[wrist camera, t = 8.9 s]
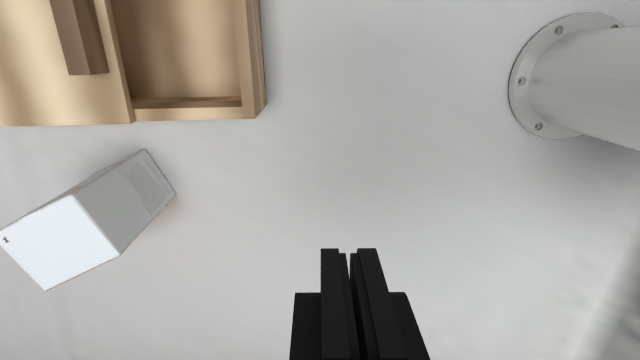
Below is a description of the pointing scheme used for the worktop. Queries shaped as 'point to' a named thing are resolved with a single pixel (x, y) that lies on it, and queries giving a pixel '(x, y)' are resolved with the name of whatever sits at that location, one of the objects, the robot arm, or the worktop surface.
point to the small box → (88, 221)
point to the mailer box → (192, 58)
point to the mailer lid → (61, 64)
